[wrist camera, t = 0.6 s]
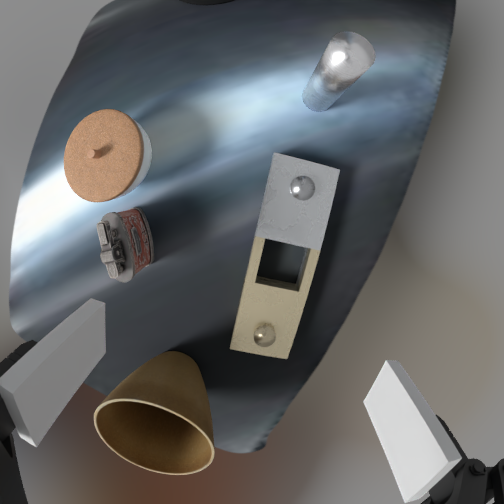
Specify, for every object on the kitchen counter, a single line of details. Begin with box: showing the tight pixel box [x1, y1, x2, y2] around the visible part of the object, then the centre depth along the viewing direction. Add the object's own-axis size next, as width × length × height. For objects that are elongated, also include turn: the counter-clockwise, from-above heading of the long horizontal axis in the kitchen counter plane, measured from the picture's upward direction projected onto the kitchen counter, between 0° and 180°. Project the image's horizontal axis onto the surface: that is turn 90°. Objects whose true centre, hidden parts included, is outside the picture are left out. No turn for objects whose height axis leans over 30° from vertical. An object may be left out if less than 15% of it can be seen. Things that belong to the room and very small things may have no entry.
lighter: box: [97, 207, 154, 282], centre depth 32 cm, size 8×3×10 cm, turn 10°
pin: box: [302, 31, 375, 112], centre depth 25 cm, size 4×4×15 cm
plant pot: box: [94, 351, 214, 475], centre depth 34 cm, size 15×15×16 cm
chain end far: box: [230, 236, 320, 359], centre depth 37 cm, size 16×8×4 cm, turn 168°
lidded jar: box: [64, 109, 152, 202], centre depth 30 cm, size 11×11×9 cm
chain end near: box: [246, 153, 340, 287], centre depth 34 cm, size 16×8×4 cm, turn 168°
